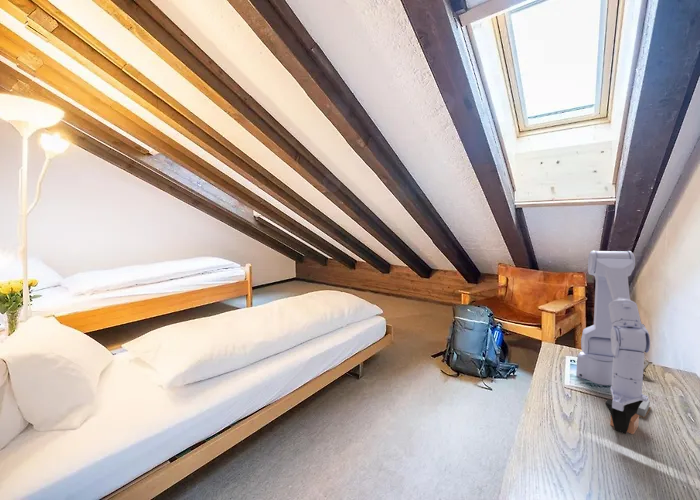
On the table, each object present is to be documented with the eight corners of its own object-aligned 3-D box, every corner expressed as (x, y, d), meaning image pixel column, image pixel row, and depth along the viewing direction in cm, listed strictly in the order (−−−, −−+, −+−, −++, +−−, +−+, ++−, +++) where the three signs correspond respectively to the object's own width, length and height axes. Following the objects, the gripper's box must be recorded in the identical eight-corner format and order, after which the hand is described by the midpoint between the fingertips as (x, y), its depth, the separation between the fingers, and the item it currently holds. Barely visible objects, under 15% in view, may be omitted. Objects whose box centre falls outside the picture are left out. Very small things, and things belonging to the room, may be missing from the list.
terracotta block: (610, 430, 80) (610, 413, 80) (615, 422, 83) (616, 406, 83) (633, 439, 77) (634, 422, 76) (638, 431, 79) (639, 415, 79)
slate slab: (613, 405, 88) (613, 399, 87) (619, 397, 92) (619, 390, 91) (644, 416, 83) (645, 409, 82) (649, 407, 86) (649, 400, 86)
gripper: (641, 391, 71) (637, 447, 72) (656, 370, 79) (652, 421, 81) (602, 379, 76) (599, 431, 78) (620, 361, 85) (617, 408, 86)
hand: (624, 425), depth 80 cm, fingers open, 6 cm apart
